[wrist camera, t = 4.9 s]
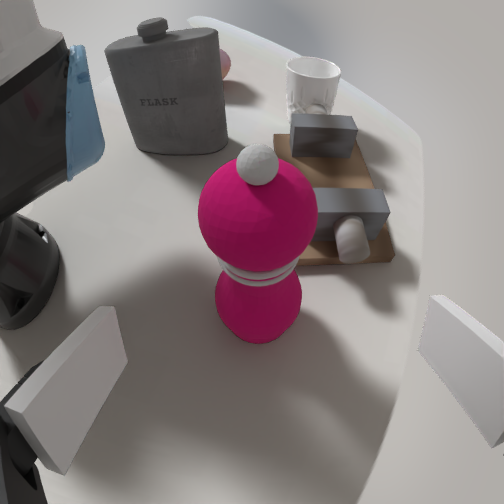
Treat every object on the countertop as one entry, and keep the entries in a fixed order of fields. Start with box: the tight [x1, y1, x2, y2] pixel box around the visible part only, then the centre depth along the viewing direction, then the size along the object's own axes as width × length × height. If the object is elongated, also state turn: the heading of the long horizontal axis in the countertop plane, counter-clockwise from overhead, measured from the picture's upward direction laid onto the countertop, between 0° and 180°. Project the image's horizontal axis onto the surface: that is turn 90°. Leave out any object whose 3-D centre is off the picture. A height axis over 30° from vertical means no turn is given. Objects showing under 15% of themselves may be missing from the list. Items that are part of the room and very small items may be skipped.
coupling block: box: [273, 104, 395, 266], centre depth 33 cm, size 12×23×6 cm, turn 1°
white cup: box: [286, 57, 341, 124], centre depth 40 cm, size 8×8×10 cm
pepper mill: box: [198, 144, 318, 344], centre depth 20 cm, size 7×7×20 cm
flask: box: [105, 18, 228, 155], centre depth 33 cm, size 15×6×20 cm, turn 80°
